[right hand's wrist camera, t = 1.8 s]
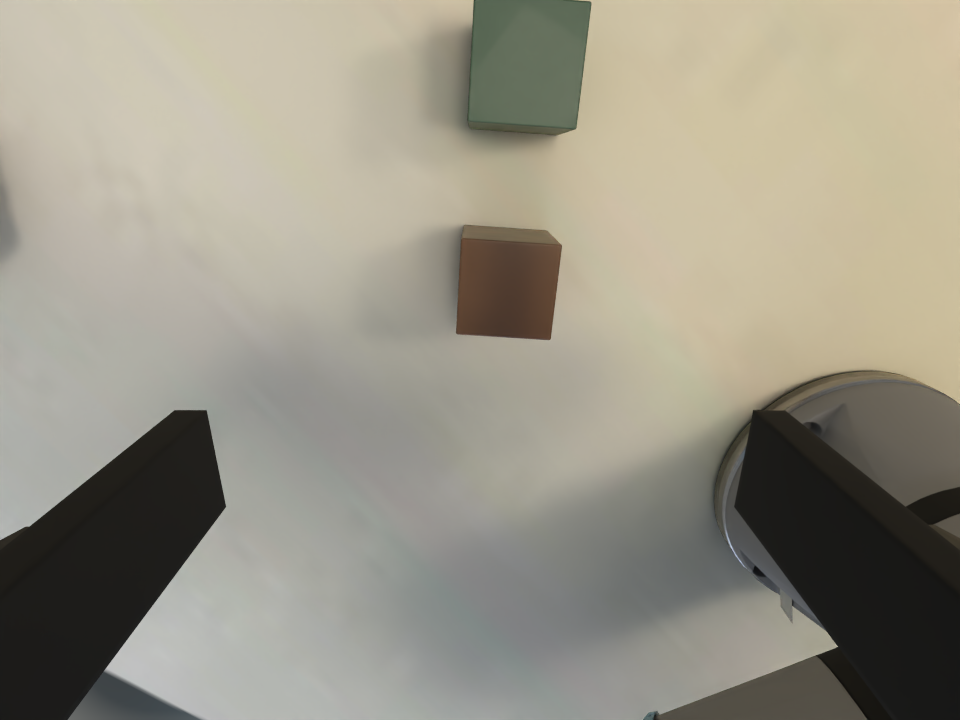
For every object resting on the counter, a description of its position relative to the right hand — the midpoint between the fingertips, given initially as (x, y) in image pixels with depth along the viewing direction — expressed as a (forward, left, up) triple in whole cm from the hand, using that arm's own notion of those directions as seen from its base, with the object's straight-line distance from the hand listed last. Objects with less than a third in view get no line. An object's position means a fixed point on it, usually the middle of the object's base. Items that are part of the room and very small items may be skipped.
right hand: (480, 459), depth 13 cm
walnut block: (-1, -1, -17) cm, 17 cm away
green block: (-1, -10, -17) cm, 20 cm away
